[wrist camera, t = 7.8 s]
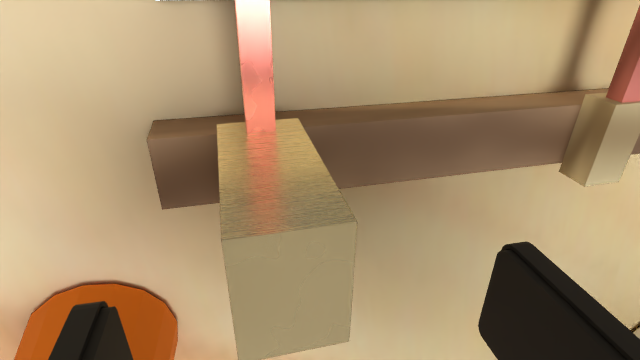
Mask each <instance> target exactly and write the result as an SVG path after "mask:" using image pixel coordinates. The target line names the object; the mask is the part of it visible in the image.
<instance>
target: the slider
mask: <svg viewBox="0 0 640 360" xmlns="http://www.w3.org/2000/svg"><path fill="white" fill-rule="evenodd" d="M234 4H235V15H236V26H237V38H238V49H239V60H240V72H241V83H242V94H243V106H244V117H245V122H239V123H226V124H217V145H218V169H219V193H220V217H221V241H222V248H223V255H224V262H225V269H226V276H227V283H228V291H229V298H230V305H231V312H232V319H233V326H234V333H235V340H236V347H237V354H238V360H261V359H266V358H270V357H275V356H280V355H285V354H290V353H295V352H300V351H305V350H309V349H314V348H319V347H324V346H329V345H334V344H339V343H343V342H348V341H349V337H350V322H351V307H352V292H353V277H354V262H355V247H356V232H357V221H356V219H355V217H354V216H353V214H352V212H351V210H350V208H349V207H348V205H347V203H346V201H345V200H344V198H343V196H342V194H341V193H340V191H339V189H338V187H337V186H336V184H335V182H334V180H333V179H332V177H331V175H330V173H329V172H328V170H327V168H326V166H325V165H324V163H323V161H322V159H321V158H320V156H319V154H318V152H317V151H316V149H315V147H314V145H313V144H312V142H311V140H310V138H309V136H308V135H307V133H306V131H305V129H304V128H303V126H302V124H301V122H300V121H299V119H298V118H292V119H279V120H275V101H274V81H273V60H272V40H271V19H270V0H234Z"/></svg>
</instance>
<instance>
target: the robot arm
mask: <svg viewBox="0 0 640 360" xmlns="http://www.w3.org/2000/svg"><path fill="white" fill-rule="evenodd" d="M478 327H479V332H480V334H481V336H482V338H483V339H484V341H485V342H486V344H487V345H488V346H489V348H490V349H491V351H492V352H493V354H494V355H495V356H496V358H497V359H498V360H640V327H639V328H638V329H636V330H635V331H634V332H633V333H632V332H631V331H630V330H629V329H628V328H627V327H626V326H624V325H623V324H622V323H621V322H620V321H619V320H618V319H616V318H615V317H614V316H613V315H612V314H611V313H610V312H609V311H607V310H606V309H605V308H604V307H603V306H602V305H601V304H599V303H598V302H597V301H596V300H595V299H594V298H593V297H591V296H590V295H589V294H588V293H587V292H586V291H585V290H584V289H582V288H581V287H580V286H579V285H578V284H577V283H576V282H574V281H573V280H572V279H571V278H570V277H569V276H568V275H567V274H565V273H564V272H563V271H562V270H561V269H560V268H559V267H557V266H556V265H555V264H554V263H553V262H552V261H551V260H549V259H548V258H547V257H546V256H545V255H544V254H543V253H542V252H540V251H539V250H538V249H537V248H536V247H535V246H534V245H532V244H531V243H529V242H520V243H513V244H507V245H504V246H503V247H502V250H501V251H499V252H498V254H497V257H496V260H495V264H494V268H493V271H492V275H491V279H490V282H489V286H488V290H487V293H486V297H485V301H484V304H483V308H482V312H481V316H480V319H479V324H478ZM48 360H133V357H132V354H131V350H130V347H129V344H128V341H127V338H126V335H125V332H124V329H123V326H122V323H121V320H120V317H119V314H118V310H117V308H116V307H115V306H113V307H108V305H107V303H106V302H105V301H100V302H93V303H85V304H78V305H75V306H73V307H72V309H71V311H70V313H69V315H68V317H67V319H66V321H65V324H64V326H63V328H62V330H61V332H60V335H59V337H58V339H57V341H56V343H55V345H54V348H53V350H52V352H51V354H50V356H49V358H48Z"/></svg>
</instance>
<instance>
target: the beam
mask: <svg viewBox="0 0 640 360" xmlns="http://www.w3.org/2000/svg"><path fill="white" fill-rule="evenodd" d="M292 118H298V119H299V121H300V122H301V124H302V126H303V128H304V129H305V131H306V133H307V135H308V136H309V138H310V140H311V142H312V144H313V145H314V147H315V149H316V151H317V152H318V154H319V156H320V158H321V159H322V161H323V163H324V165H325V166H326V168H327V170H328V172H329V173H330V175H331V177H332V179H333V180H334V182H335V184H336V186H337V187H338V189H341V188H349V187H358V186H366V185H375V184H383V183H392V182H400V181H409V180H417V179H426V178H434V177H443V176H451V175H460V174H469V173H477V172H486V171H494V170H503V169H511V168H520V167H528V166H537V165H545V164H554V163H562V164H561V167H560V170H559V172H561V173H563V174H564V175H566V176H568V177H569V178H571V179H573V180H574V181H576V182H578V183H579V184H581V185H583V186H584V187H586V186H593V185H600V184H608V183H615V182H619V180H620V178H621V176H622V173H623V171H624V169H625V166H626V164H627V162H628V159H629V157H630V155H631V154H639V153H640V6H639V9H638V11H637V14H636V17H635V20H634V22H633V25H632V28H631V30H630V33H629V36H628V38H627V41H626V44H625V46H624V49H623V52H622V55H621V57H620V60H619V63H618V65H617V68H616V71H615V73H614V76H613V79H612V82H611V84H610V87H609V88H608V89H594V90H580V91H566V92H552V93H538V94H524V95H510V96H496V97H482V98H468V99H453V100H439V101H425V102H411V103H397V104H383V105H369V106H355V107H341V108H327V109H313V110H298V111H284V112H275V120H279V119H292ZM239 122H245V117H244V114H242V115H228V116H214V117H200V118H186V119H172V120H157V121H153V124H152V127H151V129H150V132H149V135H148V138H147V143H148V147H149V152H150V156H151V161H152V165H153V170H154V174H155V179H156V183H157V188H158V193H159V197H160V202H161V206H162V209H170V208H178V207H187V206H195V205H204V204H213V203H220V193H219V169H218V145H217V124H226V123H239Z"/></svg>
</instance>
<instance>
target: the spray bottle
mask: <svg viewBox="0 0 640 360" xmlns="http://www.w3.org/2000/svg"><path fill="white" fill-rule="evenodd" d="M100 301H105V302H106V303H107V305H108V307H113V306H115V307H116V308H117V310H118V314H119V317H120V320H121V323H122V326H123V329H124V332H125V335H126V338H127V341H128V344H129V347H130V350H131V354H132V357H133V360H174V355H175V350H176V346H177V341H178V337H177V321H176V319H175V318H174V316H173V315H172V313H171V312H170V310H169V309H168V307H167V306H166V304H165V303H164V302H162V301H161V300H159V299H157V298H156V297H154V296H152V295H151V294H149V293H147V292H146V291H144V290H141V289H136V288H132V287H127V286H123V285H119V284H99V285H83V286H80V287H77V288H74V289H71V290H68V291H65V292H62V293H60V294H57V295H54V296H53V297H52V298H50V299H49V300H48V301H47V302H46V303H44V304H43V305H42V306H41V307H39V308H38V309H37V310H36V311H35V312H33V313H32V314H31V316H30V319H29V321H28V324H27V326H26V329H25V331H24V334H23V337H22V340H21V342H20V345H19V348H18V351H17V353H16V356H15V359H14V360H48V358H49V356H50V354H51V352H52V350H53V348H54V345H55V343H56V341H57V339H58V337H59V335H60V332H61V330H62V328H63V326H64V324H65V321H66V319H67V317H68V315H69V313H70V311H71V309H72V307H73V306H75V305H78V304H85V303H93V302H100Z"/></svg>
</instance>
